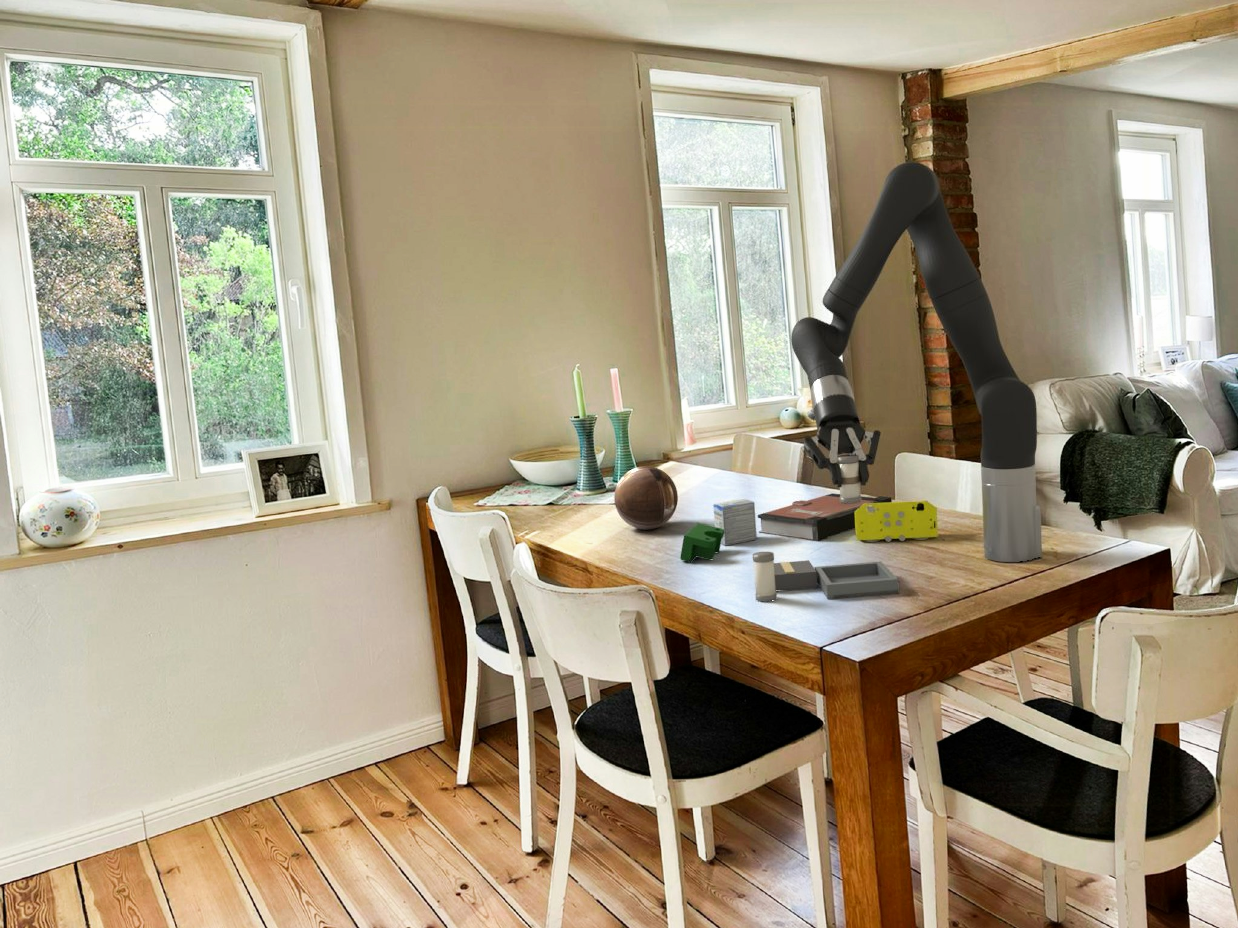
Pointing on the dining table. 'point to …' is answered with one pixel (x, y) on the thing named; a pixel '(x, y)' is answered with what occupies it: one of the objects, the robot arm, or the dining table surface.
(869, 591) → the parts tray
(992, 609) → the dining table surface
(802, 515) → the book
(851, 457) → the ball
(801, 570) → the block
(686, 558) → the clamp
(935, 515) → the yellow toy chassis
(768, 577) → the fuse
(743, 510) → the medicine box
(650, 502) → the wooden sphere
